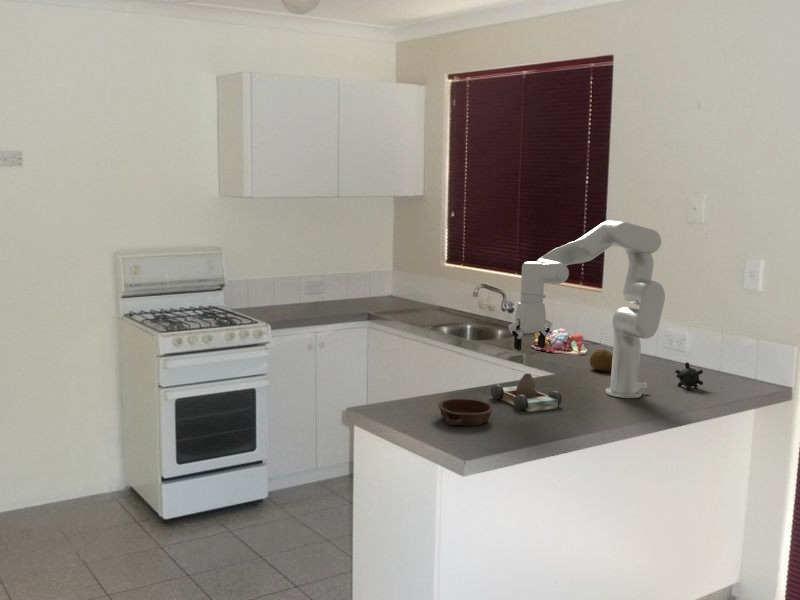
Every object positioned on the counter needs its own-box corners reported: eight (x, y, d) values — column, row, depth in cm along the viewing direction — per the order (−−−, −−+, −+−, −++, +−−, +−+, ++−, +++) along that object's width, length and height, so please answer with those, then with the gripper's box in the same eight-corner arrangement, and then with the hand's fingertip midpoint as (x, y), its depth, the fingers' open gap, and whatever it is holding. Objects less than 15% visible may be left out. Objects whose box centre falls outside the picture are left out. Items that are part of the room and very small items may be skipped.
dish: (423, 423, 268) (424, 408, 267) (456, 408, 287) (456, 393, 286) (475, 434, 260) (475, 418, 259) (504, 417, 278) (505, 402, 278)
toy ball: (694, 386, 317) (667, 373, 324) (696, 400, 325) (669, 387, 332) (709, 366, 320) (681, 353, 327) (710, 381, 328) (683, 368, 335)
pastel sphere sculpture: (533, 353, 381) (534, 332, 380) (528, 343, 404) (529, 323, 403) (590, 356, 380) (592, 335, 378) (582, 345, 403) (583, 326, 402)
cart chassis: (527, 393, 310) (528, 379, 309) (562, 407, 292) (563, 393, 291) (489, 397, 302) (490, 383, 302) (523, 412, 285) (524, 397, 284)
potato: (611, 375, 343) (613, 353, 342) (584, 370, 351) (586, 348, 349) (621, 372, 349) (623, 351, 348) (594, 367, 357) (596, 346, 356)
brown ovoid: (520, 395, 302) (522, 370, 301) (539, 399, 298) (541, 374, 297) (512, 399, 296) (514, 374, 295) (531, 403, 293) (533, 377, 291)
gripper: (545, 295, 299) (543, 344, 302) (504, 298, 291) (501, 348, 294) (559, 299, 293) (556, 348, 295) (517, 301, 285) (514, 352, 287)
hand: (529, 348), depth 295 cm, fingers open, 9 cm apart
